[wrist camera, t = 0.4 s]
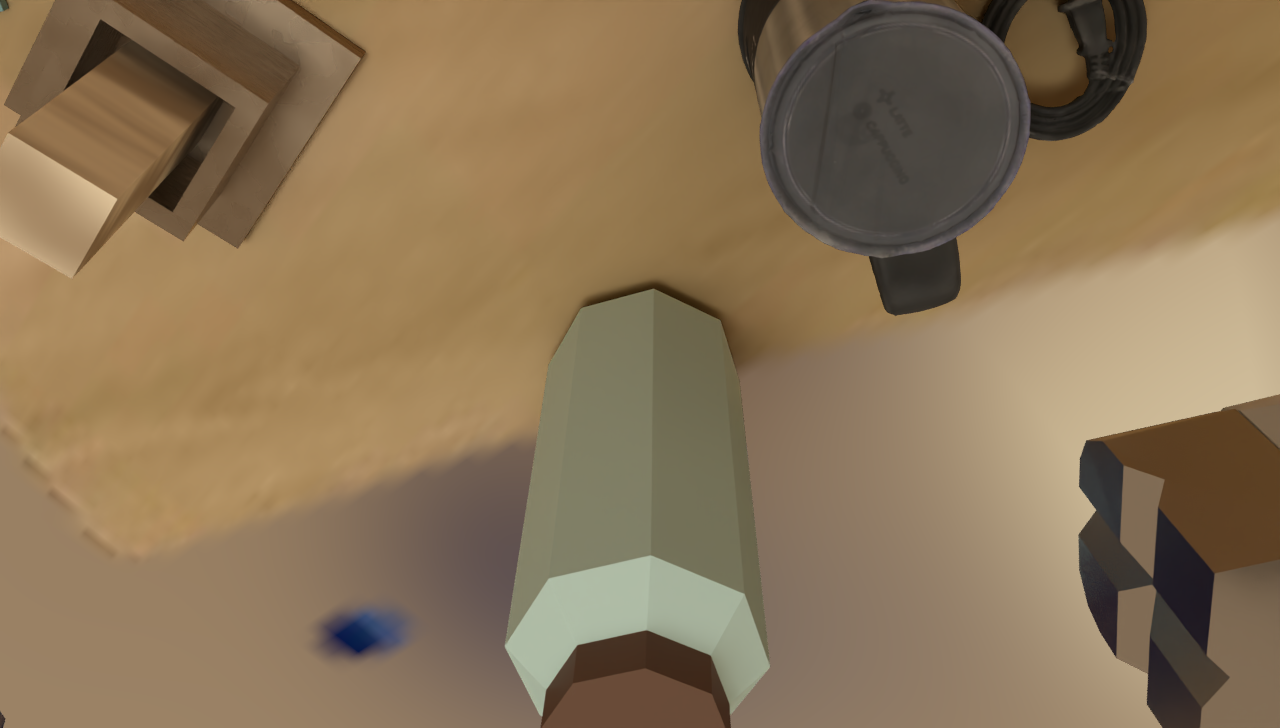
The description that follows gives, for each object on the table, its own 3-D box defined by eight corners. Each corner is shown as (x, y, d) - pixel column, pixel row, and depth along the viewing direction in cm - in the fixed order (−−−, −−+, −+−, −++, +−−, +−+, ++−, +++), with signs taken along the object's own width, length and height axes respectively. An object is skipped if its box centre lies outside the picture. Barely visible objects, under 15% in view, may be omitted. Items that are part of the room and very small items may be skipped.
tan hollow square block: (120, -119, 50) (59, -92, 44) (365, 51, 53) (334, 95, 48) (14, 97, 55) (-53, 144, 50) (243, 239, 58) (204, 297, 53)
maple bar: (158, 20, 52) (8, 132, 40) (239, 74, 53) (117, 199, 41) (120, 89, 53) (-35, 217, 41) (200, 140, 55) (71, 279, 43)
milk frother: (695, -8, 52) (706, 104, 39) (1022, -236, 47) (1156, -191, 34) (854, 232, 58) (908, 397, 45) (1159, 52, 53) (1315, 181, 40)
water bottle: (658, 240, 58) (656, 584, 37) (776, 372, 62) (837, 751, 41) (511, 349, 62) (432, 721, 40) (632, 467, 66) (619, 863, 44)
